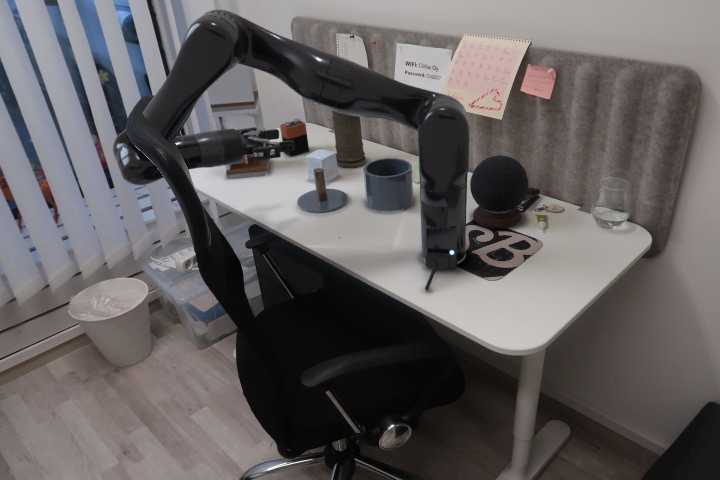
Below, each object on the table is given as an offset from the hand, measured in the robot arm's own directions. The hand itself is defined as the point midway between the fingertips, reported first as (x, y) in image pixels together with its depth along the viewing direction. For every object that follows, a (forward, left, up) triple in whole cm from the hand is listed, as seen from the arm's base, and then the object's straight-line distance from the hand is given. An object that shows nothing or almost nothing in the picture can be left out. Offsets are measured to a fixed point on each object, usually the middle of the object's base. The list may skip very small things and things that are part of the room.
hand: (286, 139), depth 128 cm
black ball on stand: (+1, -49, -19) cm, 53 cm away
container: (+32, -6, -19) cm, 38 cm away
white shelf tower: (+25, +23, -19) cm, 39 cm away
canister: (+7, -22, -19) cm, 30 cm away
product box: (+20, -1, -19) cm, 28 cm away
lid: (+5, -5, -18) cm, 20 cm away
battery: (+39, +13, -19) cm, 45 cm away
